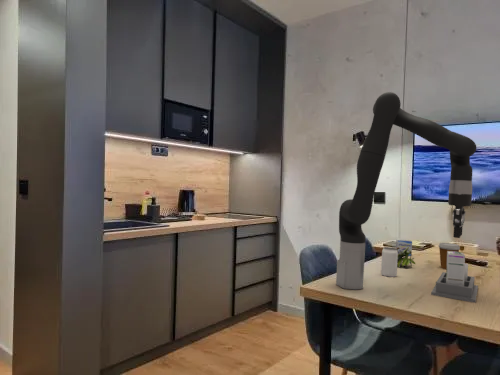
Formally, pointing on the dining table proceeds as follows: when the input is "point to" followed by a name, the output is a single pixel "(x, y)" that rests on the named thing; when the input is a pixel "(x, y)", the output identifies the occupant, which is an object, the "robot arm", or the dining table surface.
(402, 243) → the medicine box
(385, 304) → the dining table surface
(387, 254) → the can
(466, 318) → the dining table surface
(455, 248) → the disposable coffee cup
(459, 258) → the syrup box
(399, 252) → the passion flower
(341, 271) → the robot arm
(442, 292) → the housing
